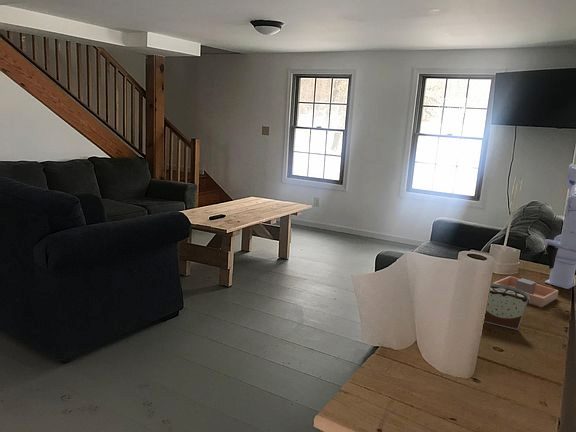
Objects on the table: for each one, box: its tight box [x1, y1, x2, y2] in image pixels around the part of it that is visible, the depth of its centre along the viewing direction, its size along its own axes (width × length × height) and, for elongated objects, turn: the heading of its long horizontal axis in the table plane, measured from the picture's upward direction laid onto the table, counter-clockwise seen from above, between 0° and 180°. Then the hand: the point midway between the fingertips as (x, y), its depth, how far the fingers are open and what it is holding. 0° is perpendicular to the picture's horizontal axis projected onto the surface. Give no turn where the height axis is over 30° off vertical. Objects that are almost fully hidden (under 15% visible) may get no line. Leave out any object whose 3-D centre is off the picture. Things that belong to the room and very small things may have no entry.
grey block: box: [516, 277, 537, 295], centre depth 157 cm, size 4×4×4 cm
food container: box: [483, 283, 531, 331], centre depth 132 cm, size 12×6×10 cm, turn 65°
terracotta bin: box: [492, 275, 559, 308], centre depth 157 cm, size 14×16×3 cm
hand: (563, 271), depth 156 cm, fingers open, 7 cm apart
